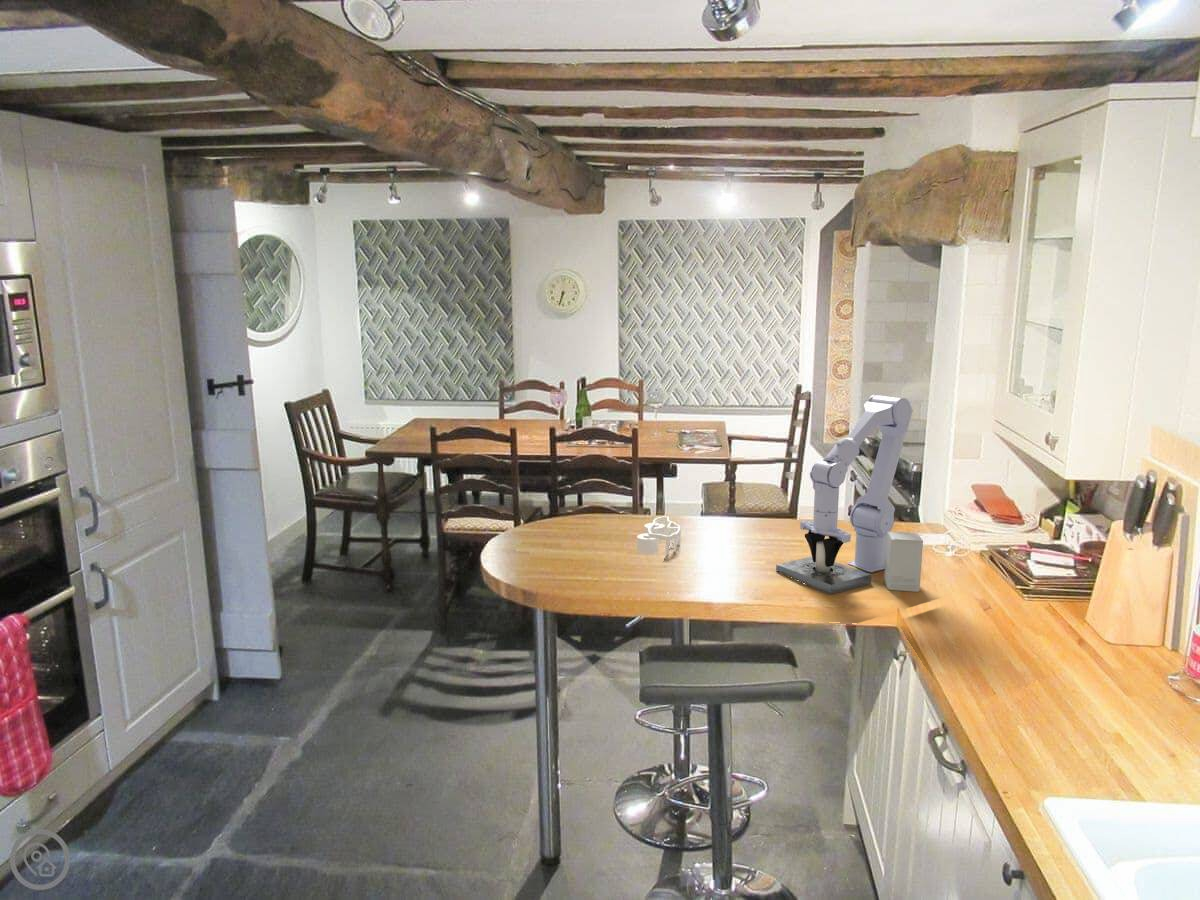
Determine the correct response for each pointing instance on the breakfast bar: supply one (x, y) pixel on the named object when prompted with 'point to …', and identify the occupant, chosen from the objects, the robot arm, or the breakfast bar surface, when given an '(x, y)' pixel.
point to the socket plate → (825, 575)
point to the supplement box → (903, 561)
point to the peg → (821, 558)
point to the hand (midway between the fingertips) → (823, 563)
